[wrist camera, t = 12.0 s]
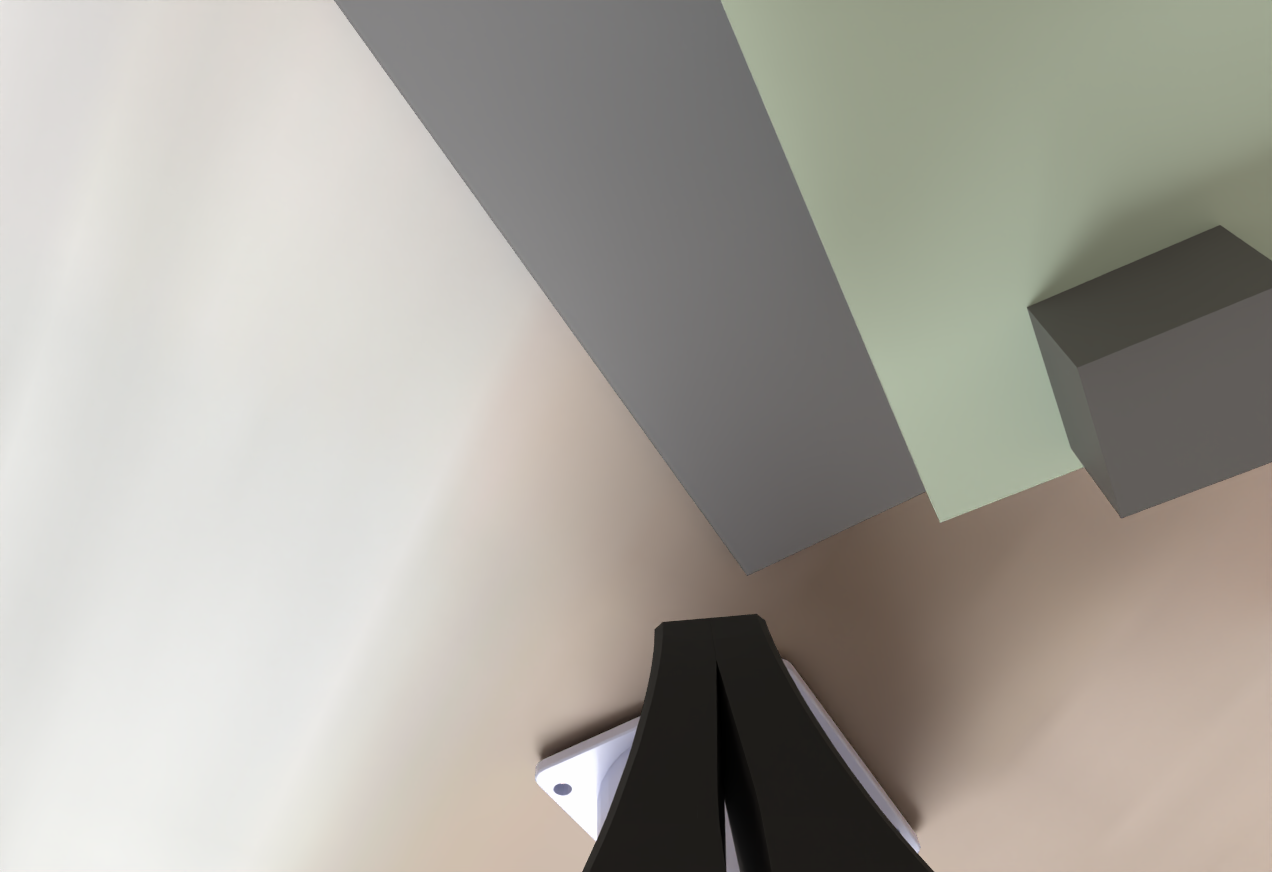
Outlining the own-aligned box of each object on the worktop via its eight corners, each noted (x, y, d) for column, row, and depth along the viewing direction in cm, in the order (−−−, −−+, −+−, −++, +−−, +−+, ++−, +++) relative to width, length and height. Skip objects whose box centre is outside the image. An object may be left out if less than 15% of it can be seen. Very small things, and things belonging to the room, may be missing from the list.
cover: (1381, 322, 17) (1502, 402, 15) (929, 499, 19) (975, 597, 17) (1247, -1003, 10) (1451, -1252, 7) (509, -504, 11) (486, -579, 9)
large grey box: (1375, 262, 21) (1522, 350, 18) (744, 562, 25) (767, 682, 22) (1128, -872, 13) (1317, -1111, 9) (231, -158, 17) (137, -145, 13)
